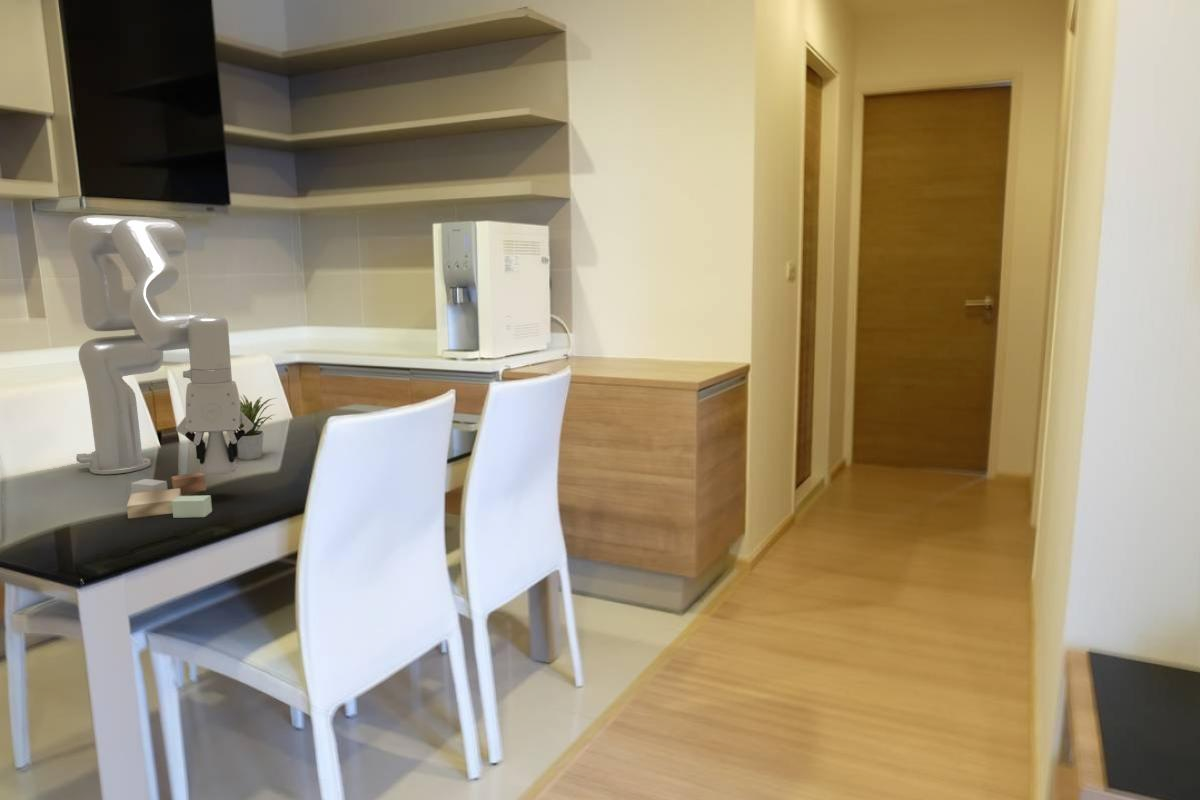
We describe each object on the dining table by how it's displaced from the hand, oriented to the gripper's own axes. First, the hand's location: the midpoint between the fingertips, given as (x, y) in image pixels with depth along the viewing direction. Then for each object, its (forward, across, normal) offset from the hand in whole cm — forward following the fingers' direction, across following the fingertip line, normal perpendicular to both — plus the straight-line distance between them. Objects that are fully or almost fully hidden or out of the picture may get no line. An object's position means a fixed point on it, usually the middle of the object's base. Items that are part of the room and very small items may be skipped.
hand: (217, 460), depth 169 cm
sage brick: (+8, -3, -11) cm, 14 cm away
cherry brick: (+9, -7, +7) cm, 13 cm away
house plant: (+9, +3, +34) cm, 35 cm away
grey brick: (+9, -14, +4) cm, 17 cm away
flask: (+3, 0, 0) cm, 3 cm away
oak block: (+9, -11, -5) cm, 15 cm away
